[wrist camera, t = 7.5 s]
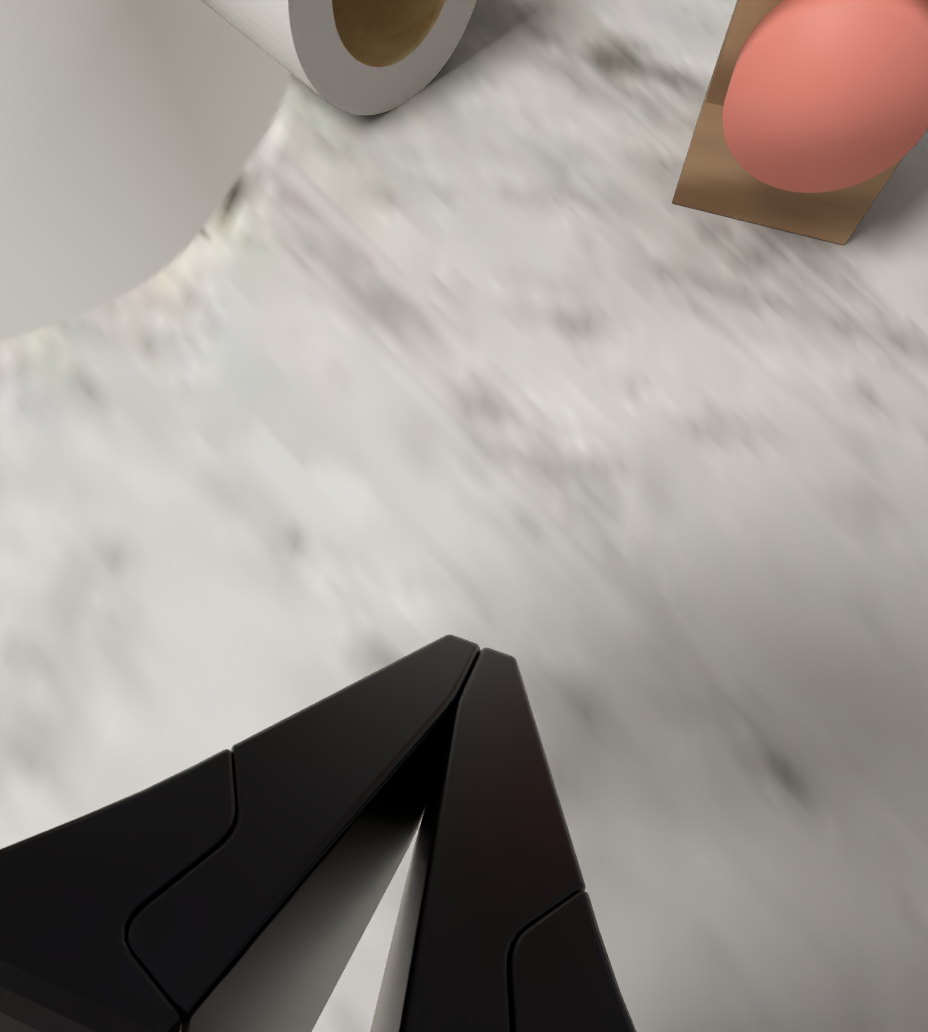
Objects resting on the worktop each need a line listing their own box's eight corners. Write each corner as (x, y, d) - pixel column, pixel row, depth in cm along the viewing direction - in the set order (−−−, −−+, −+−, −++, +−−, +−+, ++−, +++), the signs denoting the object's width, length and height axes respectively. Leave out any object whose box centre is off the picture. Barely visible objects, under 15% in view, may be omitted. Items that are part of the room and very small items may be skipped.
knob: (871, 210, 24) (992, 33, 18) (699, 169, 25) (764, -13, 19) (896, 66, 26) (1009, -128, 21) (739, 34, 27) (808, -161, 22)
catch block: (843, 248, 28) (1053, -62, 18) (670, 206, 29) (777, -111, 19) (863, 141, 30) (1061, -190, 20) (702, 105, 31) (813, -228, 21)
